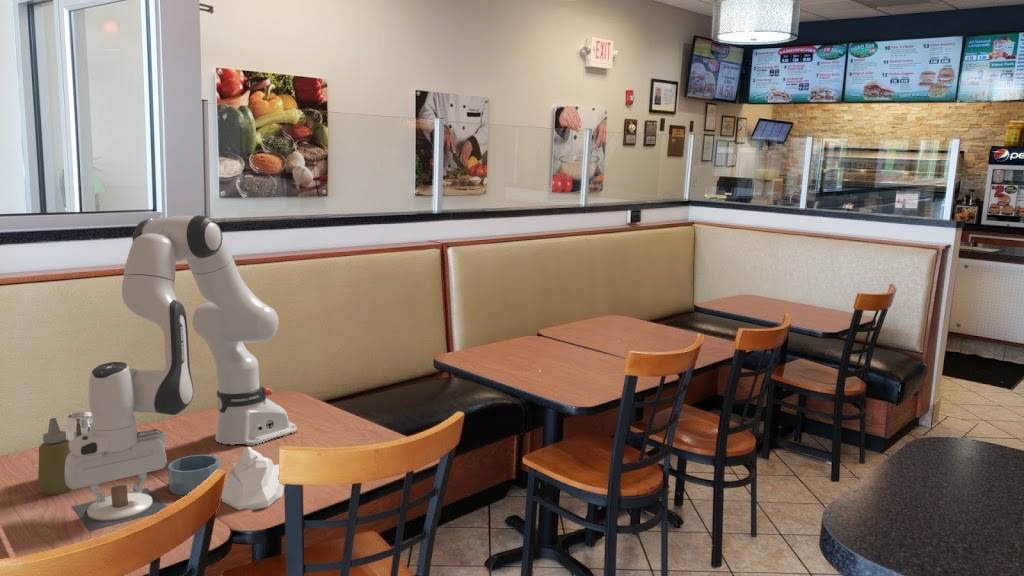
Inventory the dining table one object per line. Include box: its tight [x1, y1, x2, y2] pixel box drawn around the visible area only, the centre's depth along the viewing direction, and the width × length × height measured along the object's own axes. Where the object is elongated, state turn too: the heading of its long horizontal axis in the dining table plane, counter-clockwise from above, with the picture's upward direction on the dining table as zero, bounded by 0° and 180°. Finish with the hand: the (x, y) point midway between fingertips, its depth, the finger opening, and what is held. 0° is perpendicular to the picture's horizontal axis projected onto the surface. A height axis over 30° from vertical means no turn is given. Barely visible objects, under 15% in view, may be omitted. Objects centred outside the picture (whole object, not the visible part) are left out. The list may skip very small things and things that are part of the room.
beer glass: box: [66, 410, 92, 441], centre depth 196 cm, size 7×7×15 cm
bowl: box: [167, 454, 221, 496], centre depth 186 cm, size 11×11×6 cm
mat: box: [71, 487, 168, 532], centre depth 174 cm, size 16×16×1 cm
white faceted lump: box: [221, 446, 285, 511], centre depth 178 cm, size 12×15×14 cm
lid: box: [87, 484, 153, 521], centre depth 173 cm, size 13×13×5 cm
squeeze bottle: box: [37, 417, 72, 496], centre depth 183 cm, size 8×8×18 cm
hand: (119, 496), depth 173 cm, fingers open, 6 cm apart
